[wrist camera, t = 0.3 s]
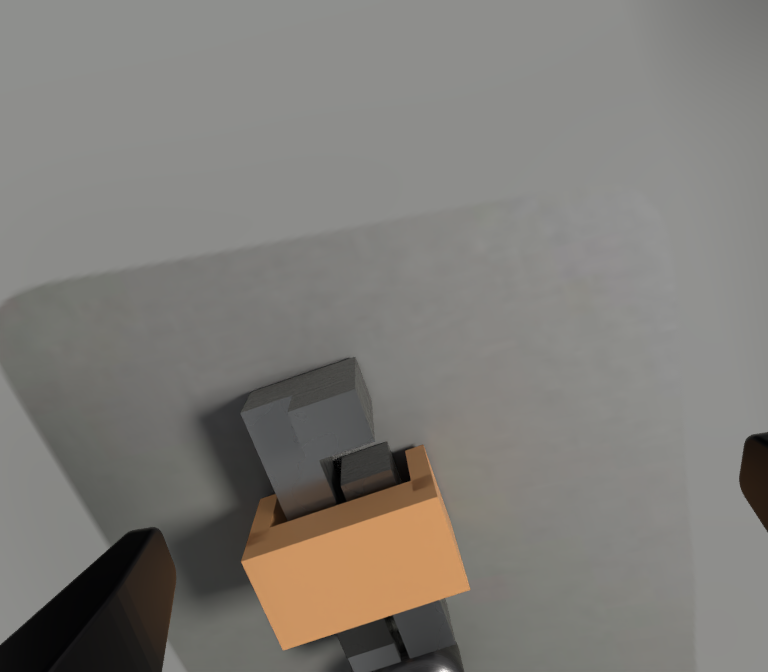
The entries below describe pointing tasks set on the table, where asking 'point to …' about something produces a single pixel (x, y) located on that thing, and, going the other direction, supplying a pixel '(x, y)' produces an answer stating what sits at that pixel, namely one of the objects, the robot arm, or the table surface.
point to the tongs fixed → (418, 625)
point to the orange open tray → (354, 558)
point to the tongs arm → (319, 466)
